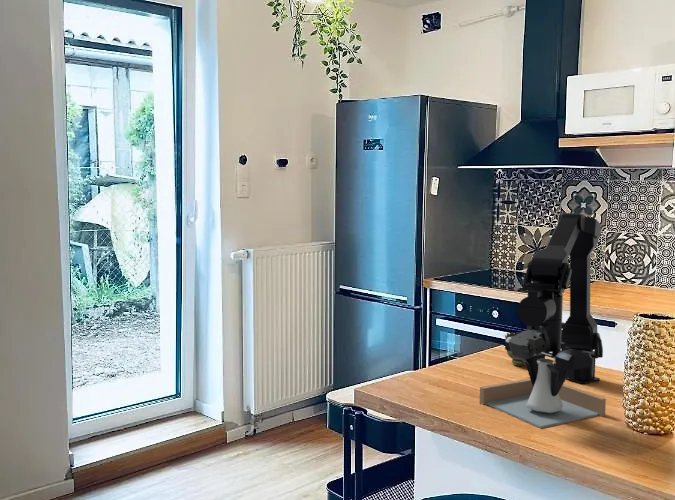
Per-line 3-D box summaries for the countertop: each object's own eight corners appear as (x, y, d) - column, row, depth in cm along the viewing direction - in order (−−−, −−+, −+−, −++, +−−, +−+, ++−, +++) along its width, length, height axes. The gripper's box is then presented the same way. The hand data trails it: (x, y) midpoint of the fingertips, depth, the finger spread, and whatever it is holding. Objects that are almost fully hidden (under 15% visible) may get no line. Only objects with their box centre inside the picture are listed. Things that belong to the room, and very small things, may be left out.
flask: (552, 416, 128) (553, 367, 127) (519, 408, 133) (520, 360, 132) (569, 407, 133) (570, 359, 132) (536, 399, 138) (537, 353, 137)
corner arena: (540, 391, 147) (541, 376, 147) (605, 415, 132) (605, 398, 131) (479, 402, 139) (480, 387, 139) (540, 429, 123) (540, 412, 123)
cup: (528, 370, 165) (529, 339, 164) (500, 365, 169) (501, 335, 168) (536, 363, 171) (537, 334, 171) (509, 359, 175) (510, 330, 175)
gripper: (485, 313, 136) (484, 385, 137) (552, 330, 119) (550, 412, 120) (525, 308, 141) (523, 378, 142) (595, 324, 124) (592, 403, 126)
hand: (544, 392), depth 132 cm, fingers closed on flask, 5 cm apart
